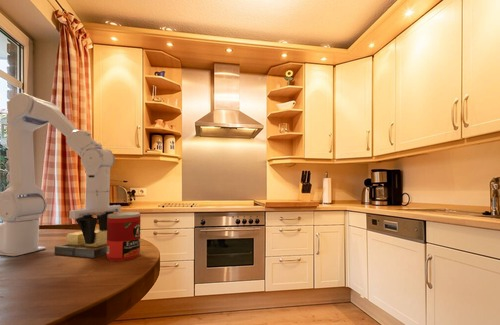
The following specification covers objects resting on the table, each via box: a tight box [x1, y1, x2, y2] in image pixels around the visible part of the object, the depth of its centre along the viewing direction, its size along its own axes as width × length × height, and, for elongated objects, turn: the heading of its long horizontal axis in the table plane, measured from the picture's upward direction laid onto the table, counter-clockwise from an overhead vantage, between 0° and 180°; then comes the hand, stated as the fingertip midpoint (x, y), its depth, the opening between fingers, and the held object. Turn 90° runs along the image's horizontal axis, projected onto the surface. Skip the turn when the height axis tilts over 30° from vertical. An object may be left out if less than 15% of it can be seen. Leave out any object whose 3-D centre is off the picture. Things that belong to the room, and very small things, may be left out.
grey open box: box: [54, 230, 107, 259], centre depth 72 cm, size 14×8×5 cm, turn 72°
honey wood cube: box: [85, 229, 107, 249], centre depth 71 cm, size 4×4×5 cm
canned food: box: [106, 211, 142, 262], centre depth 67 cm, size 8×8×11 cm
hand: (96, 241), depth 71 cm, fingers closed on honey wood cube, 4 cm apart
